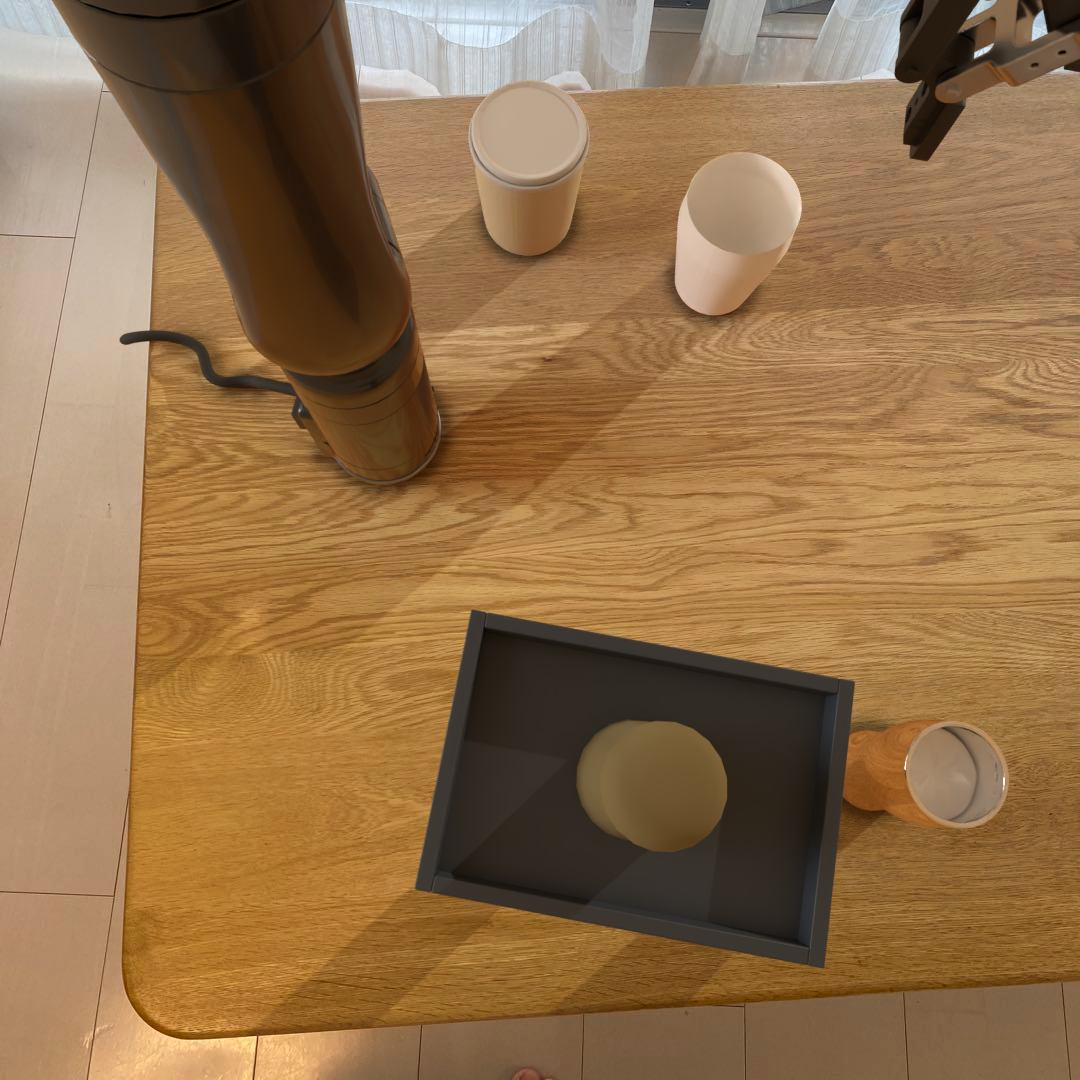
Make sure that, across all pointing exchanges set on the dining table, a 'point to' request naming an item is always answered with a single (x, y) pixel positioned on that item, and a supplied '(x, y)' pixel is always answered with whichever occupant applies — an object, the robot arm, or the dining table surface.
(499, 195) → the coffee cup
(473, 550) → the dining table surface
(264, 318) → the robot arm
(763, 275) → the cup
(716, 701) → the tray
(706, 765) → the cork
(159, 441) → the dining table surface
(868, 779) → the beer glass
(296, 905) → the dining table surface
